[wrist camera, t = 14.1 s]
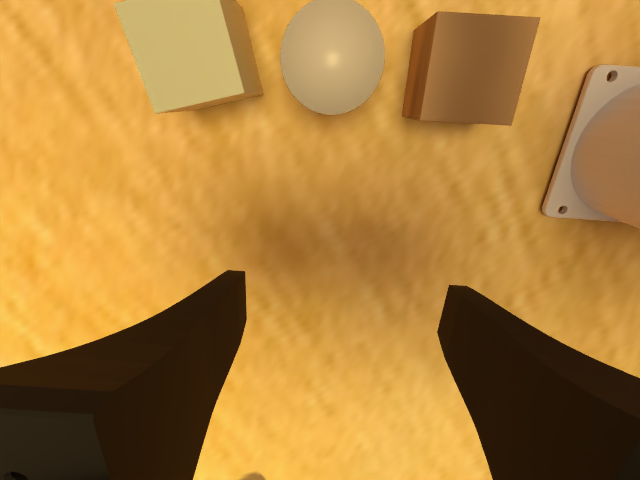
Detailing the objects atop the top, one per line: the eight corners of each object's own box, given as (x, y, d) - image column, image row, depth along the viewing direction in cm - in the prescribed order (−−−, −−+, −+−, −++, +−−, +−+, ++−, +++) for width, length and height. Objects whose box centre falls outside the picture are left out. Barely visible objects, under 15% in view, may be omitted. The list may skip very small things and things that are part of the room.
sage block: (242, 7, 16) (213, -24, 12) (263, 94, 18) (244, 92, 14) (166, 27, 17) (113, 3, 13) (194, 110, 18) (154, 113, 14)
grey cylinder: (374, 26, 16) (392, -1, 12) (365, 113, 18) (377, 117, 13) (294, 21, 16) (281, -8, 12) (292, 108, 18) (279, 111, 13)
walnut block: (493, 35, 17) (540, 17, 13) (474, 119, 18) (511, 125, 14) (413, 30, 17) (437, 11, 13) (401, 115, 18) (420, 120, 14)
